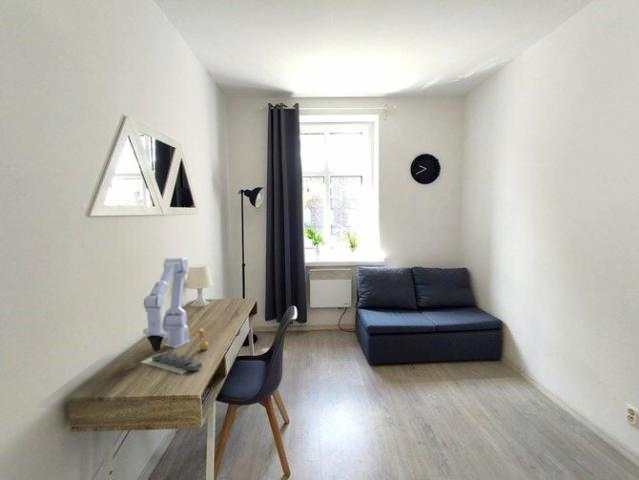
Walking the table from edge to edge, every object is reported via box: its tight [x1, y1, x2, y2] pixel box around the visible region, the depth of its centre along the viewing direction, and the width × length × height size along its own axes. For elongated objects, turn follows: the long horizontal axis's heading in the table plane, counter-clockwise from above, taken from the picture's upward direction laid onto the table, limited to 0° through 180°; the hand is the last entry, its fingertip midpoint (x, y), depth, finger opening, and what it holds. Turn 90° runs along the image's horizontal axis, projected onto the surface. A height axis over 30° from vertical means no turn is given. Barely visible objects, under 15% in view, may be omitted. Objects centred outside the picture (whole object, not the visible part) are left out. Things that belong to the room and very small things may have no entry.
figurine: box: [193, 327, 211, 351], centre depth 149 cm, size 8×6×12 cm
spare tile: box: [159, 352, 178, 364], centre depth 137 cm, size 2×4×7 cm
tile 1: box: [151, 351, 171, 361], centre depth 139 cm, size 2×4×7 cm
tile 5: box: [182, 361, 203, 372], centre depth 131 cm, size 2×4×7 cm
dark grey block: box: [175, 356, 194, 368], centre depth 133 cm, size 2×4×7 cm
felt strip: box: [141, 353, 189, 375], centre depth 137 cm, size 9×26×1 cm, turn 64°
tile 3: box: [167, 354, 186, 365], centre depth 135 cm, size 2×4×7 cm
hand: (156, 350), depth 140 cm, fingers closed
